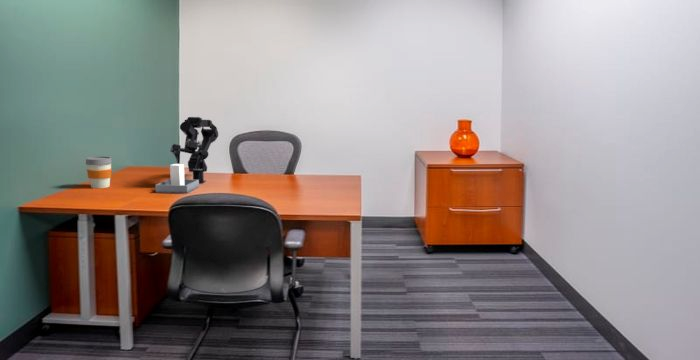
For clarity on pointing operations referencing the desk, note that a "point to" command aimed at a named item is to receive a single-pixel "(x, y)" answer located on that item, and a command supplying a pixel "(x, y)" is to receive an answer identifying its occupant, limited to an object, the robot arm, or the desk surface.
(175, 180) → the cream block
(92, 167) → the reusable coffee cup
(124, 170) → the desk surface
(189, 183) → the tray
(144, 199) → the desk surface
